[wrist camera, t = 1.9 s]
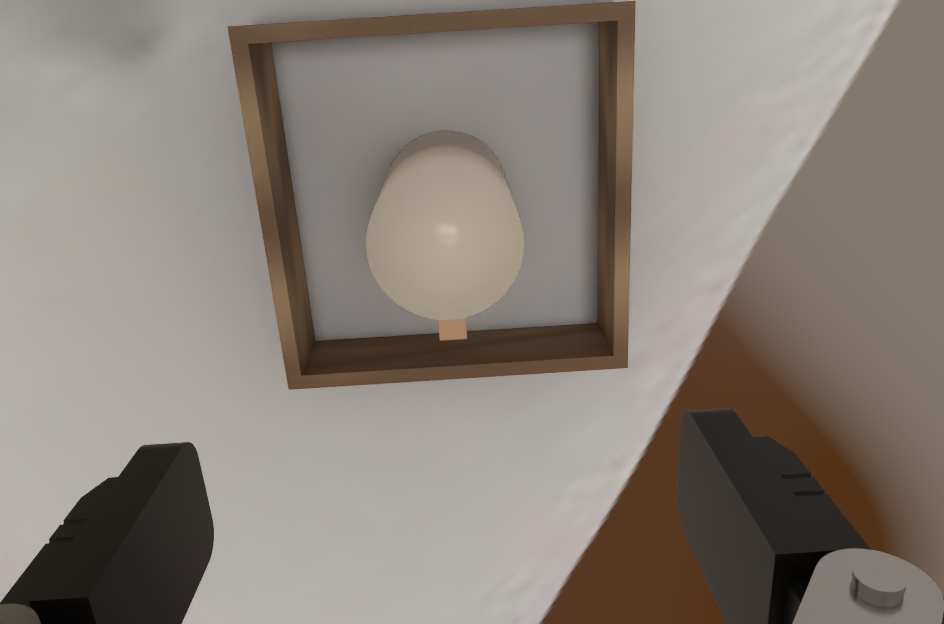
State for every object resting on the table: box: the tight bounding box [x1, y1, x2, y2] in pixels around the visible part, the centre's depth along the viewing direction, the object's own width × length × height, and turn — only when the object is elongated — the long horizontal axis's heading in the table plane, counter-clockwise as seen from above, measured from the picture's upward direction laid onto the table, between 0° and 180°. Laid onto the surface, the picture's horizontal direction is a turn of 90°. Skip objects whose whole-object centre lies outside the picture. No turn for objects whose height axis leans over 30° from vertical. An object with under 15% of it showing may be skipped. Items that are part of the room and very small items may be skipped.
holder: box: [228, 1, 635, 389], centre depth 30 cm, size 14×14×4 cm
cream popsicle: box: [366, 131, 525, 341], centre depth 28 cm, size 7×5×8 cm
